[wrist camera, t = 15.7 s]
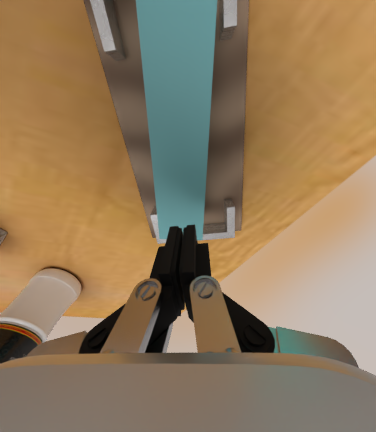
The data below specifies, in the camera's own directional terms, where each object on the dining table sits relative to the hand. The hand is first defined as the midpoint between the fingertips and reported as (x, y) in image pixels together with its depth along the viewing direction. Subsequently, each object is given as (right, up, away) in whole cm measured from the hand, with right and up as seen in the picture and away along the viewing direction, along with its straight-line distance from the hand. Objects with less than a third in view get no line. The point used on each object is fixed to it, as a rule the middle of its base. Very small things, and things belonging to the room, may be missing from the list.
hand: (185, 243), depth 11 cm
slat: (0, +11, +8) cm, 14 cm away
